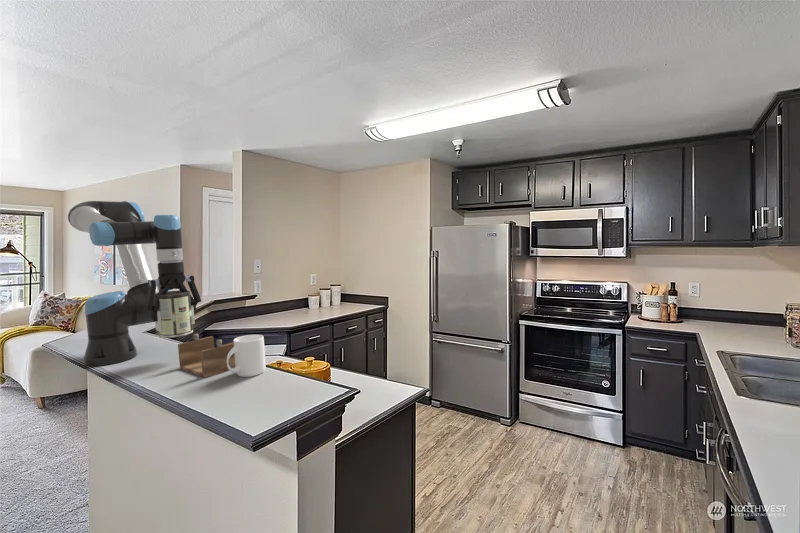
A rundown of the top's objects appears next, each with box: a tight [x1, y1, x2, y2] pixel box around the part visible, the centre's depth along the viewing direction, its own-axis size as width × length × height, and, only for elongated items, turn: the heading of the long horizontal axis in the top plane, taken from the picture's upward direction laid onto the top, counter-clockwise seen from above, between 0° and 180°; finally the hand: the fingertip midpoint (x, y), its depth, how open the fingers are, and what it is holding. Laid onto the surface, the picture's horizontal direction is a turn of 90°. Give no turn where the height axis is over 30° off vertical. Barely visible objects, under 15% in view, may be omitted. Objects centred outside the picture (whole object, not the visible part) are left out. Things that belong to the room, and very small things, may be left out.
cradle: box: [177, 333, 235, 379], centre depth 130 cm, size 16×11×10 cm
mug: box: [227, 334, 266, 378], centre depth 122 cm, size 9×12×11 cm
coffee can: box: [155, 289, 194, 339], centre depth 137 cm, size 10×10×14 cm
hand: (175, 326), depth 137 cm, fingers closed on coffee can, 10 cm apart
